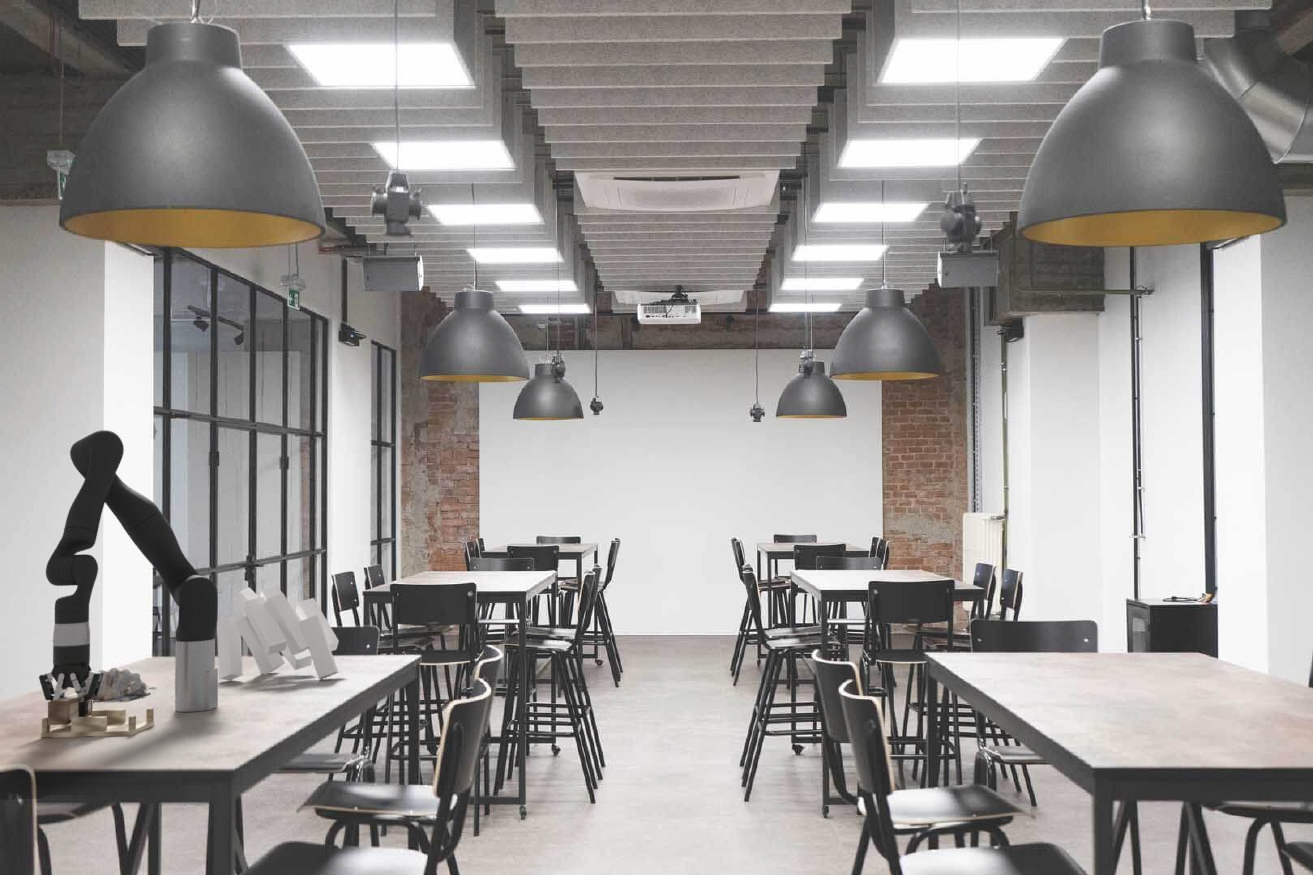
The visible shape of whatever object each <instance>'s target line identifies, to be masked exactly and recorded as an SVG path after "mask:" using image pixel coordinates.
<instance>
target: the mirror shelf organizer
mask: <svg viewBox="0 0 1313 875" xmlns="http://www.w3.org/2000/svg"><path fill="white" fill-rule="evenodd" d="M126 711H127V709H126V708H113V709H112V708H107V709H105V708H104V709H103V708H102V709H101V708H100V709H92V711H91V716H88V717H74V718H71V723H70V724H67V725H57V726H56V727H54V728H51V725H48V717H43V718H42V719H41V732H40V738H41V737H53V738H83V737H82V736H94V737H115V736H116V737H121V736H123V737H125V736H126V737H127V736H128V737H130V736H131V737H133V736H134V735H136V734H139V733H141V732H143V731H145V730H148V729H149V728H152V727H154V726H155V720H154V711H155V710H154V707H151V708H146V720H137V715H130V716H128V721H126V720H127V719H126V717H127V716H126V715H127V714H126V713H127V712H126Z"/></svg>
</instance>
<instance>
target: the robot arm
mask: <svg viewBox="0 0 1313 875" xmlns="http://www.w3.org/2000/svg"><path fill="white" fill-rule="evenodd" d="M124 448H125V447H124V443H123V441H122V439H121V437H120V436H119V435H118V434H117V433H116V432H114V431H112V430H109V429H101V430H98V431H95V432H92V433H90V434H88V435H87V436H85V437H83V438H80V439H79V440H77V441H75V443H73V444H72V445H71V447H70V450H69V451H70V452H69V457H70V459H71V462H72V464H73V465H74V467H75V469H76V470H77V472H78V473H79V474H80V475H81V476H82V477H83V478H84V481H83V483H82V485H81V487H80V489H79V491H78V492H77V494H76V496H75V498H74V499H73V501H72V504H71V506H70V508H69V510H68V513H67V517H66V520H65V524H64V528H63V532H62V535H61V539H60V540H59V542H58V544H57V546H56V547H55V549H54V550H53V552H52V554H51V556H50V557H49V560H48V561H47V564H46V567H45V576H46V579H47V581H48V583H49V584H51V585H53V586H57V587H63V586H64V587H65V586H67V587H68V586H76V590H75V591H74V592H73V594H70V595H66V596H61V597H58V598H57V599H56V600H55V603H54V624H53V625H54V626H53V627H54V628H53V633H52V634H53V636H52V665H53V667H52V669H51V672H47V673H43V674H40V675H39V676H38V679H39V684H40V686H41V689H42V693H43V696H44V700H46V701H49V702H50V701H53V700H56V699H59V698H62V697H65V696H66V693H67V691H68V688H70V689H74V692H75V693H77V695H78V699H79V701H80V702H79V717H86V715H87V714H88V701H89V700H90V699H92V698H95V697H97V694H98V691H99V688H100V685H101V681H102V678H103V675H104V674H103V672H99V671H93V670H92V668H91V666H90V661H91V628H90V602H91V597H92V594H93V593H92V592H93V589H94V586H95V584H96V583H95V582H96V580H97V577H98V572H99V564H98V562H97V559H96V558H95V556H93V555H92V554H87V553H86V554H84V553H83V554H78V553H80V552H83V551H87V550H90V549H92V548H93V547H94V546H95V544H96V541H97V536H98V532H99V528H100V522H101V518H102V514H103V510H104V506H105V504H106V506H107V507H108V508H109V510H110V511H111V513H112V514H113V515H114V517H116V519H117V520H118V522H119V524H120V525H121V526H122V528H123V530H124V531H125V533H126V534H127V535H128V537H129V538H130V540H131V541H132V542H133V544H134V545H135V546H136V547H137V548H138V550H139V551H140V552H141V553H142V555H143V556H144V557H145V558H146V559H147V561H148V563H150V564H151V565H152V566H153V567H154V569H155V570H156V571H157V573H158V574H159V575H160V577H161V579H162V580H163V582H164V584H165V586H166V587H167V590H168V592H169V594H170V595H171V597H172V599H173V601H174V602H175V604H176V605H177V606H178V622H177V627H176V629H175V651H174V652H175V657H174V659H175V660H174V661H175V665H174V668H175V669H174V671H175V672H174V673H175V674H174V678H175V680H174V682H175V683H174V684H175V686H174V688H175V690H174V692H175V693H174V696H175V698H174V699H175V700H174V704H175V705H174V706H175V708H174V710H175V712H183V713H184V712H185V713H190V712H192V713H193V712H203V711H211V710H212V709H214V708H216V707H218V706H219V705H218V704H219V703H218V702H219V697H218V695H219V686H218V685H219V682H218V681H219V668H216V639H215V638H216V631H217V621H218V603H219V602H218V601H219V598H218V597H219V595H218V589H217V586H216V584H215V583H214V581H213V580H212V579H210V578H208V577H206V576H202V575H201V574H200V573H199V572H198V571H197V570H196V569H195V567H193V565H192V564H191V563H190V561H189V560H188V559H187V558H186V555H185V554H184V553H183V551H182V549H181V547H180V543H179V541H178V539H177V537H176V535H175V531H174V530H173V528H172V527H171V525H170V523H169V521H168V520H167V518H166V517H165V515H164V514H163V512H162V511H161V510H160V509H159V507H158V506H157V505H156V504H155V503H154V502H153V501H152V500H151V499H149V497H147V496H145V495H143V494H141V493H140V492H138V491H136V490H135V489H133V488H132V487H130V486H128V485H127V484H126V483H125V482H124V481H123V480H122V479H121V477H119V475H118V474H117V471H118V468H119V467H120V465H121V462H122V459H123V456H124ZM98 672H99V673H98ZM89 676H90V680H91V681H92V682H91V685H90V688H89V691H87V689H88V688H87V684H86V680H87V678H88V677H89ZM53 679H54V680H55V682H56V685H55V688H54V685H53Z"/></svg>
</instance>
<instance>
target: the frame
mask: <svg viewBox="0 0 1313 875" xmlns="http://www.w3.org/2000/svg"><path fill="white" fill-rule="evenodd" d="M79 702H80V701H79V699H78V695H77V693H76V692H75V693H72V694H68V695H65V696H64V697H62V698H59V699H56V700H53V701H50V700H49V701H48V702H47V718H48V725H50V726H61V725H67V724H70V723H71V718H74V717H79ZM92 710H93V703H92V699H90V700H89V701H88V714H87V715H86V717H91V711H92Z"/></svg>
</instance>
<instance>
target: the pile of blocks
mask: <svg viewBox="0 0 1313 875" xmlns="http://www.w3.org/2000/svg"><path fill="white" fill-rule="evenodd" d="M260 590H261V591H260V596H259V595H258V594H257V593H255V591H254V590H253V589H252V588H251V587H246V588H244V589H242V590H241V591H239V592H238V593H237V594H236V595H235V596H234V598H233V599H232V600H231V602H232V603H233V605H235V606H236V607H237V608H238V609H239V610H240V611H241V612H242V613H243V614H244V616H242V617H241V618H240V617H238V616H232V615H228V616H225V617H223V618H220V619H218V620H217V627H216V632H217V656H218V657H217V661H218V662H217V663H218V680H222V681H223V680H224V681H233V680H235V679H237V678H239V677H242V676H243V674H244V673H243V656H242V655H243V654H242V639H243V641H244V642H245V644H246V645H247V647H248V649H249V650H250V652H251V654H252V656H253V658H254V662H255V664H256V666H257V669H258V672H259V674H260V675H268V674H269V673H272V672H274V671H275V670H277V669H279V668H281V666H283V665H284V664H286V663H285V662H286V661H287V662H288V663H289V665H291V667H292V668H293V670H294V671H297V670H300V669H302V668H307V667H310V666H311V665H312V662H313V666H314V669H315V671H316V674H317V675H316V676H317V677H318V679H320V680H323V678H324V679H326V678H329V677H331V676H333V675H336V674H339V670H338V666H337V664H336V661H335V658H334V655H333V651H336V650H337V648H338V645H339V641H340V640H339V639H338V637H337V635H336V634H335V632H334V630H333V628H332V627H331V625H330V623H329V621H328V620H327V618H326V617H325V615H324V613H323V611H322V610H321V608H320V606H319V604H318V603H317V601H316V599H315V598H314V597H311V598H308V599H304V600H300V601H297V603H296V607H295V611H294V609H293V606H292V605H291V604H290V602H289V601H288V599H287V597H286V595H285V593H284V592H282V591H281V589H280V587H279V585H275V586H271V587H267V588H264V589H260ZM241 637H242V638H241ZM281 654H282V655H281ZM282 656H283V657H284V658H285V659H286V661H285V660H284V659H283V657H282Z"/></svg>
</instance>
